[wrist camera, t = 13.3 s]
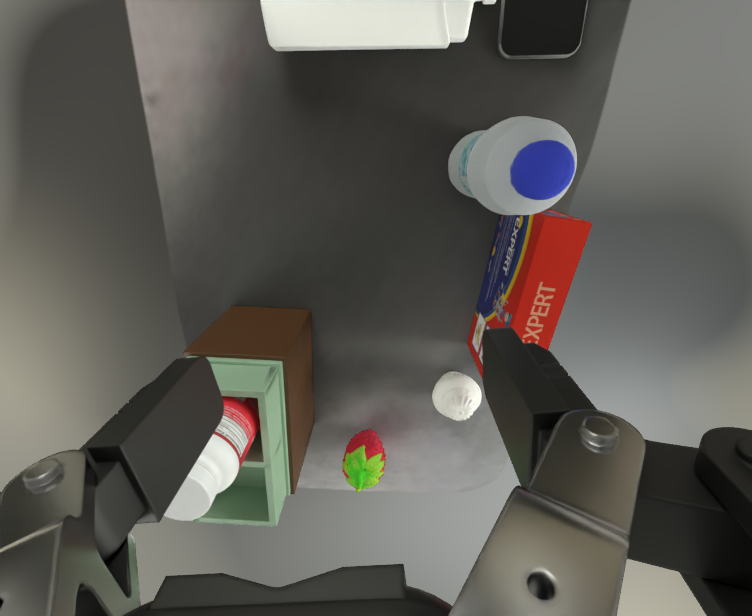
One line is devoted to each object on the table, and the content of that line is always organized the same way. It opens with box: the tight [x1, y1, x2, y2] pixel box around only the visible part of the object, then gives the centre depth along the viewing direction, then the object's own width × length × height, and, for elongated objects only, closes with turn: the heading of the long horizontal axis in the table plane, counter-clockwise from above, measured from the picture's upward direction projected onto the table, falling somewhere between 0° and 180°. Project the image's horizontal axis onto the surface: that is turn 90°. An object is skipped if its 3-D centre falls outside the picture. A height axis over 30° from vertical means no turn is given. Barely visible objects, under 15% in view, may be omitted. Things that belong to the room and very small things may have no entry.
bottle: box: [448, 116, 577, 215], centre depth 30 cm, size 7×7×20 cm
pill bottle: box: [164, 396, 260, 520], centre depth 31 cm, size 6×6×11 cm
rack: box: [183, 306, 314, 527], centre depth 42 cm, size 18×10×17 cm, turn 178°
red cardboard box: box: [467, 209, 592, 379], centre depth 39 cm, size 18×4×12 cm, turn 173°
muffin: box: [432, 371, 481, 421], centre depth 46 cm, size 6×6×7 cm
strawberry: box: [342, 429, 386, 492], centre depth 49 cm, size 6×7×10 cm
